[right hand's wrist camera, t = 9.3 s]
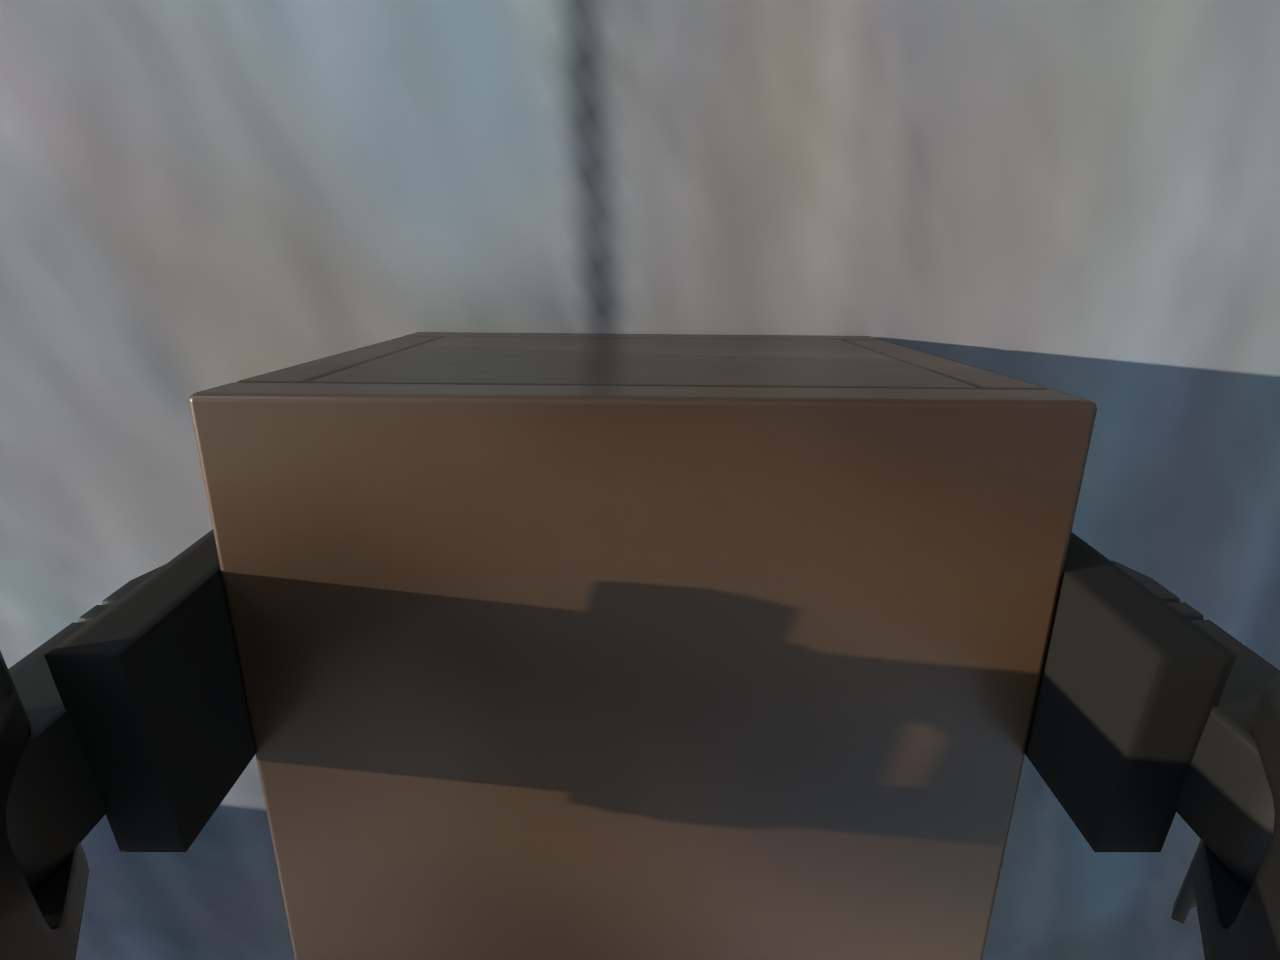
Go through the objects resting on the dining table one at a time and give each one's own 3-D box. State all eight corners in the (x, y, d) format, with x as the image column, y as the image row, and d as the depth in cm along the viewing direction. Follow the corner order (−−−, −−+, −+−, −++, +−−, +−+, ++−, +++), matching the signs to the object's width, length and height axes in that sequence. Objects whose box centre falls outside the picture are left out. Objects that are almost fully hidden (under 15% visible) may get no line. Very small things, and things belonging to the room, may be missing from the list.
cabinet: (799, 1010, 22) (885, 1427, 14) (475, 1006, 22) (380, 1419, 14) (870, 335, 16) (1102, 401, 8) (416, 331, 16) (182, 393, 8)
